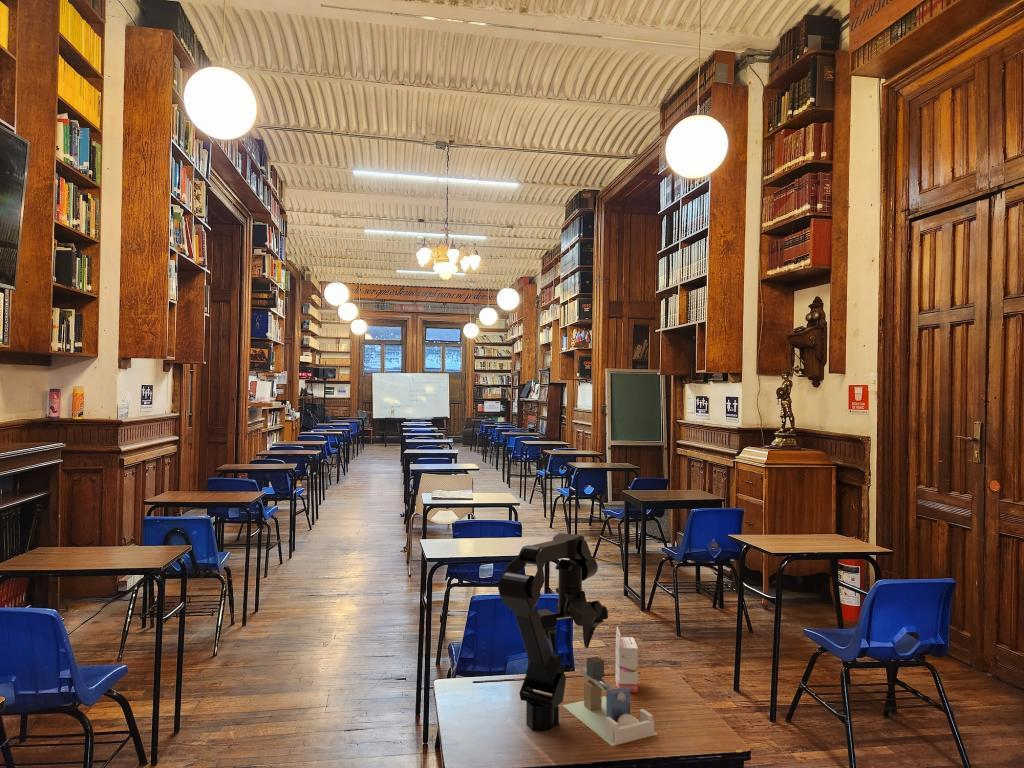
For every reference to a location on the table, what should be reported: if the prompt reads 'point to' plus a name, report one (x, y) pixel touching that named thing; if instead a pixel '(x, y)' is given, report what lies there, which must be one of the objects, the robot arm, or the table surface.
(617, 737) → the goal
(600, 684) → the player rod
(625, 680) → the ink cartridge box
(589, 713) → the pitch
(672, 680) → the table surface
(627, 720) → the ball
